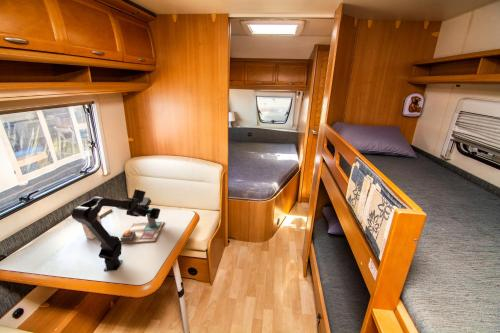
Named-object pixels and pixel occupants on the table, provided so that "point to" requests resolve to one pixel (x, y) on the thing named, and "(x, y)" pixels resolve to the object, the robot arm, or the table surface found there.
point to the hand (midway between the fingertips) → (152, 215)
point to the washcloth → (104, 212)
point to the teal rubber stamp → (151, 220)
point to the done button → (127, 233)
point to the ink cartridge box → (87, 231)
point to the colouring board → (142, 233)
